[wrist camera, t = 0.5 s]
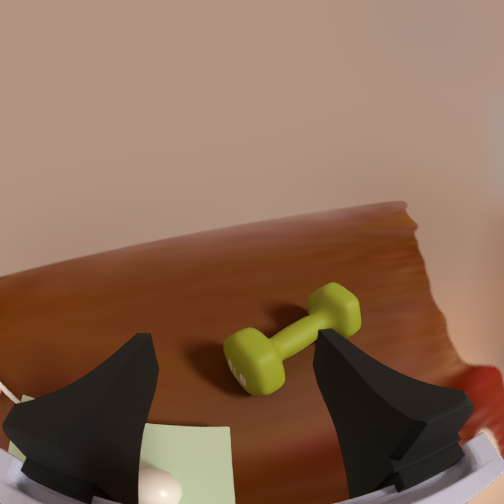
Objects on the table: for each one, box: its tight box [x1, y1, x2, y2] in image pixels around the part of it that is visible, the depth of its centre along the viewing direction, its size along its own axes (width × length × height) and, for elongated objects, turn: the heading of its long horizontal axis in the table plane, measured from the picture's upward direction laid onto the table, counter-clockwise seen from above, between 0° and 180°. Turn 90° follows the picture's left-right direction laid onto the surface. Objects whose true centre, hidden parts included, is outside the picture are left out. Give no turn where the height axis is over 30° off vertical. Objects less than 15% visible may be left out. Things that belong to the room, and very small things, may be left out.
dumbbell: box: [223, 282, 361, 396], centre depth 30 cm, size 16×8×7 cm, turn 125°
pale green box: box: [0, 382, 235, 504], centre depth 13 cm, size 14×24×10 cm, turn 95°
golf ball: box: [138, 468, 182, 504], centre depth 14 cm, size 4×4×4 cm
